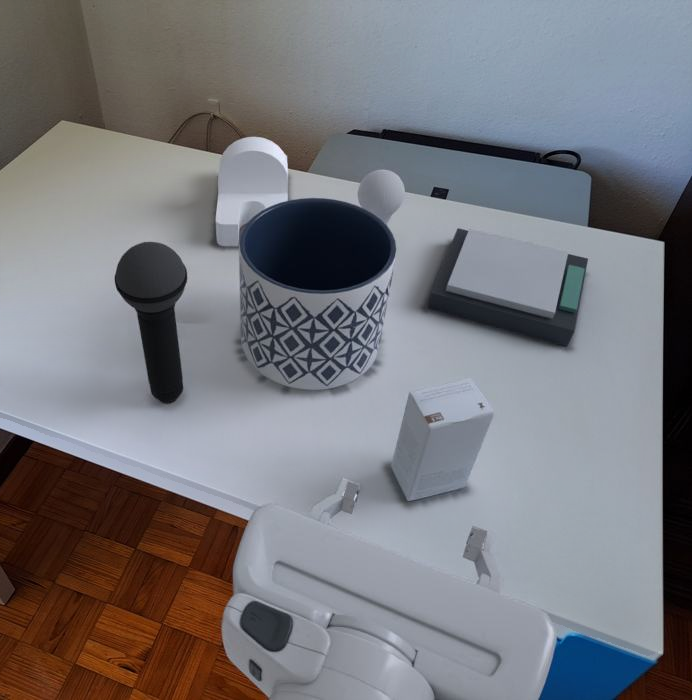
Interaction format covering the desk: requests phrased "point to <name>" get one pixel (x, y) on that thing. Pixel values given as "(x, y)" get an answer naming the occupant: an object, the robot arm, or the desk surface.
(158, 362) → the microphone
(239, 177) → the white u-slot block
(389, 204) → the light bulb
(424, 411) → the cosmetic box
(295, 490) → the desk surface
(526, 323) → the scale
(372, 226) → the planter
